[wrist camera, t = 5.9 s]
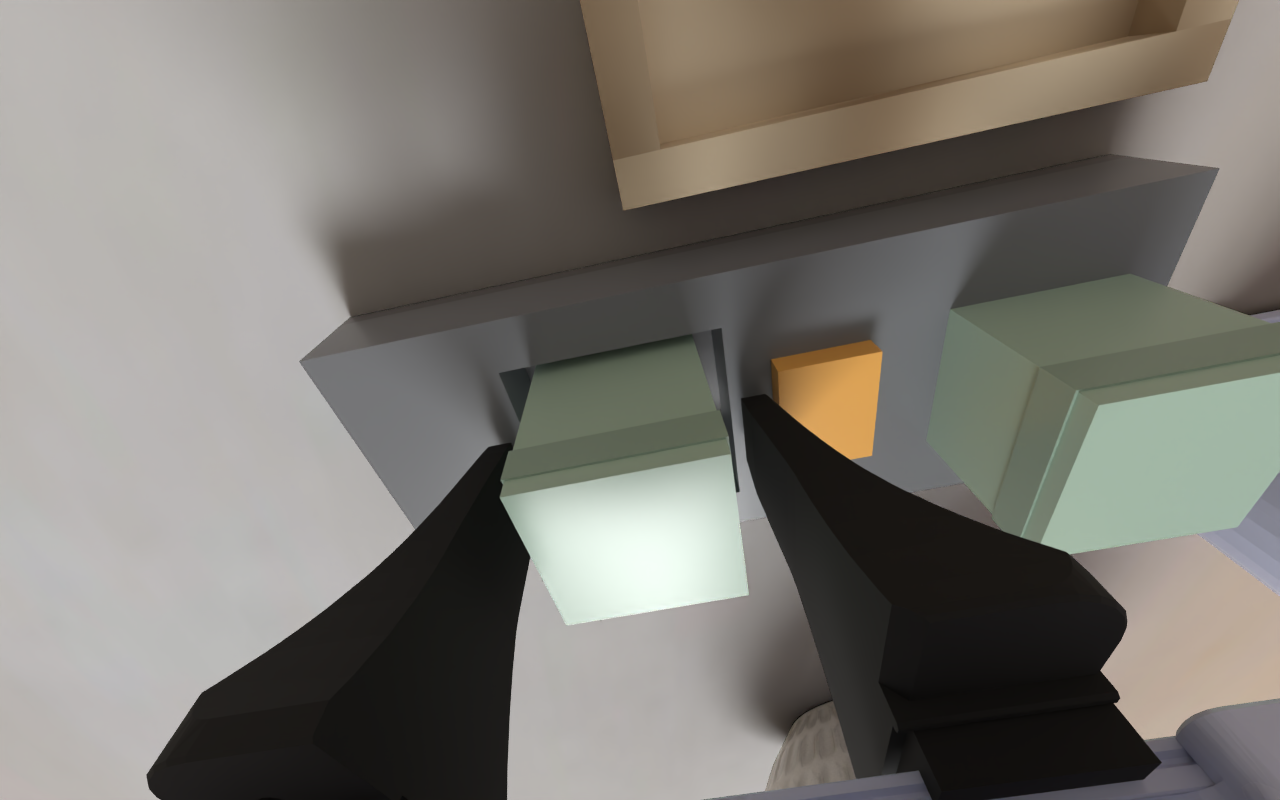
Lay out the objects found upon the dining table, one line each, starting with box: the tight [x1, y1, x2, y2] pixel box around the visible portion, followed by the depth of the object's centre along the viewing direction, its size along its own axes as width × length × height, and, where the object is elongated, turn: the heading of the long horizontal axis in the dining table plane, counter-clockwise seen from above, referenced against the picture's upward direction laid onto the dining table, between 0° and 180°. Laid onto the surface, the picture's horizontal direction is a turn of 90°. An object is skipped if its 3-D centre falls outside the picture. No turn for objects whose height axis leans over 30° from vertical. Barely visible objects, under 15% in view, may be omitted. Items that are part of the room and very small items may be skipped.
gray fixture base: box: [299, 154, 1280, 559], centre depth 12 cm, size 20×8×6 cm, turn 101°
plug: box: [500, 334, 749, 625], centre depth 12 cm, size 4×4×6 cm
